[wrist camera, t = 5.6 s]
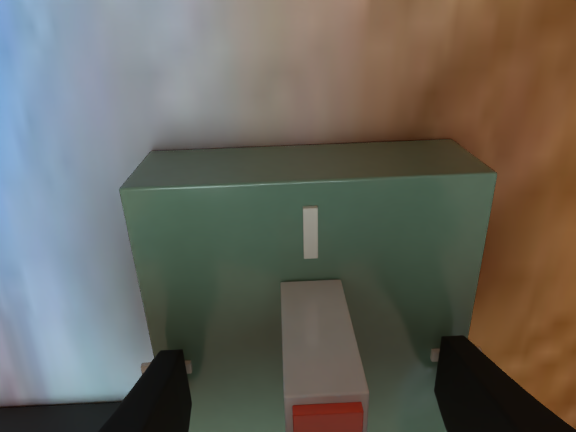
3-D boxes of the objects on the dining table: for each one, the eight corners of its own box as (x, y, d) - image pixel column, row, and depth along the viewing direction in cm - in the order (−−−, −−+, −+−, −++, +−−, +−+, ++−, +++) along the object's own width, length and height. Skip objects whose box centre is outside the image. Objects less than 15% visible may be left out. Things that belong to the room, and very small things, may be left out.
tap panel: (464, 137, 13) (516, 174, 10) (426, 404, 18) (455, 479, 15) (137, 151, 13) (99, 191, 10) (186, 416, 18) (169, 494, 15)
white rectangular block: (338, 425, 14) (361, 574, 10) (287, 428, 14) (292, 578, 10) (341, 278, 12) (373, 403, 8) (279, 281, 12) (284, 407, 8)
